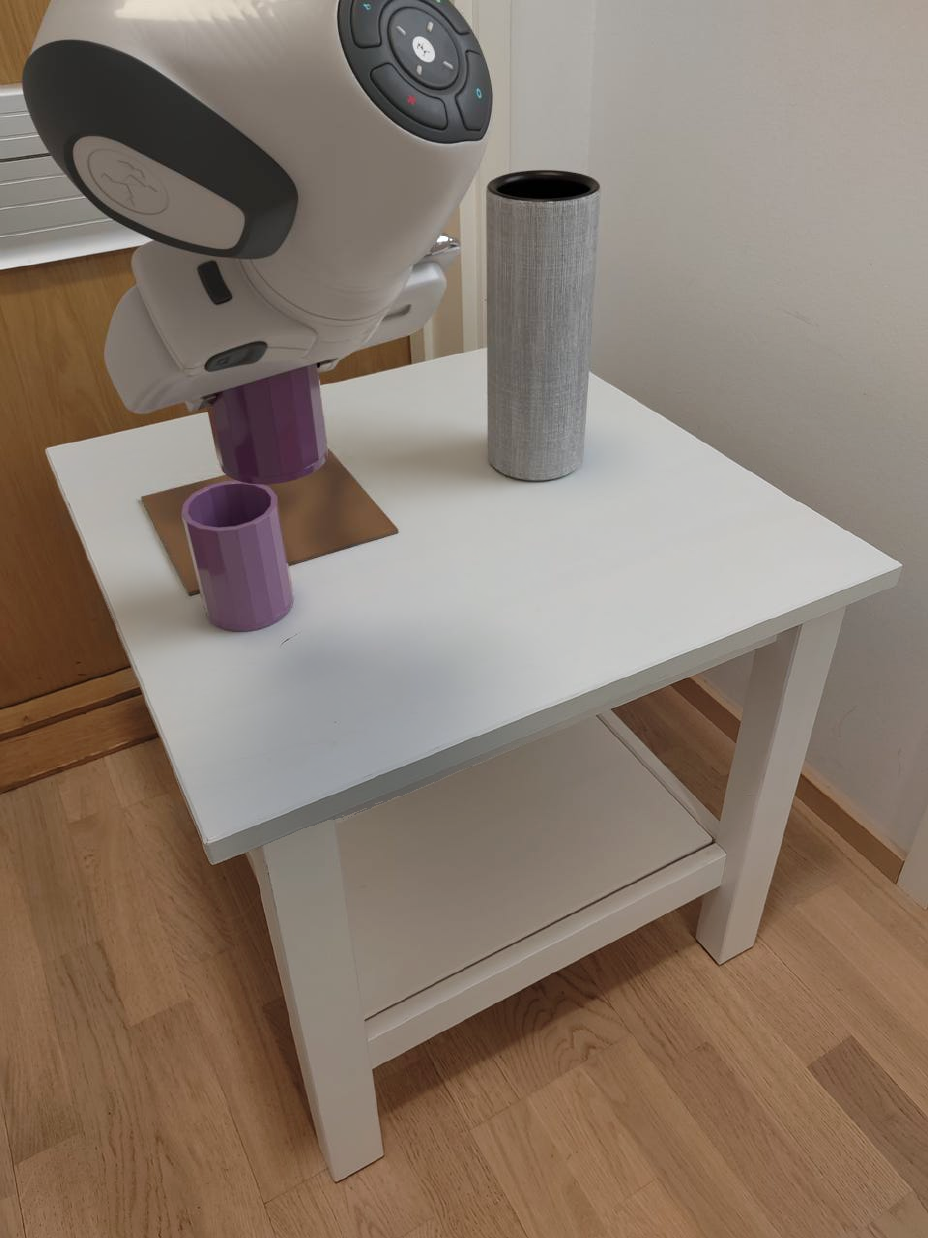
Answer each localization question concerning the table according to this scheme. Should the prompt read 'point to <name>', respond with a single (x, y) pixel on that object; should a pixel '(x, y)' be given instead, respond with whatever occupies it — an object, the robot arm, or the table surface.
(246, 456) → the plum cup
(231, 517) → the mauve cup
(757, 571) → the table surface
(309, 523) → the placemat
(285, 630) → the table surface
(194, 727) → the table surface
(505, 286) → the vase
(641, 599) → the table surface
